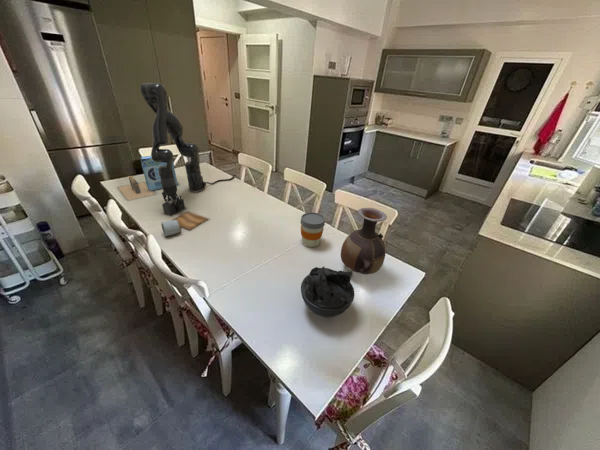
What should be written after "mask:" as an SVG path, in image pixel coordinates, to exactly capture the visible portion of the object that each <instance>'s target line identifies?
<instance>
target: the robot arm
mask: <svg viewBox="0 0 600 450" xmlns="http://www.w3.org/2000/svg"><path fill="white" fill-rule="evenodd" d="M139 91H140V94H141V96H142V98H143V100H144V101H145V103H146V104H147V105H148V106H149V108H151V110H152V111H153V112H154V113H155V117H154V119H153V121H152V125H151V135H152V146H151V152H150V156H151V158H152V159H153V161H154V162H166V163H167V165H164V166H160V167H159V174H160V178H161V184H162V188H161V189H162V192H161V196H162V198H163V201H164V203H165V202H168V201H170V200H172V202H173V203H174V204H175V207H176V211H180V207H179V205H182V201H181V199H182V196H181V195H178V194H177V192H178V185H176V181H175V178H174V174H173V169H172V163H174V154H173V151H172V150H171V149H170V148H169V149H168V148H162V149H161V148H160V147H161V146H164V145H165V146H166V145H168V143H169V139H168V138H169V137H168V134H169V136H170V137H171V140H172V141H173V142H174V144H175V146H176V148H177V150H178V152H179V154H180V155H181V156H182V157H185V158H190V160H187V161H186V162H185V163H184V168H185V173H186V178H187V183H188V187H189V188H188V189H189V192H192V193H199V192H202V191H203V190H204V189H205V187H207V184H208V185H214V184H216V183H219V182H223V181H224V182H225V181H231V180H233V179H234V177H237V175H236V174H233V175H232V177H231V178H225V179H223V178H222V179H217V180H215V181H214V182H210V181H204V178H203V175H202V172H201V167H200V166H201V165H200V163H201V162H200V151H199V146H198V145H197V144H196V143H194V142H186V141H185V140H184V138H183V134H184V127H183V125H182V123H181V121H180V119H179V118H178V116H177V115H176V114H174V113H173V112H172V111H170V110H169V109H168V91H167V89H166V86H165V85H164V84H163V83H160V82H143V83H141V84H140V86H139ZM174 200H176V201H174ZM176 202H177V204H176ZM179 202H180V203H179ZM180 212H181V211H180Z"/></svg>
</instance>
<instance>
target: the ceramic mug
mask: <svg viewBox="0 0 600 450" xmlns="http://www.w3.org/2000/svg"><path fill="white" fill-rule="evenodd" d="M160 224H161V229H162V233H163V235H164V237H169V236H172V235H173V236H174V235H176V234H179V233H181V232H182V227H181V226H180V223H179V221H178V220H173V219H171V220H166V221H161V223H160Z"/></svg>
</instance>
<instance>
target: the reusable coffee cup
mask: <svg viewBox="0 0 600 450" xmlns="http://www.w3.org/2000/svg"><path fill="white" fill-rule="evenodd" d="M325 225H326V219H325V216H324V215H322V214H321V213H318V212H312V211H311V212H310V211H309V212H305V213H303V214H302V215H301V218H300V235H301V241H302V244H303V245H304V246H306V247H309V248H314V247H318V245H319V244H320V241H321V238H322V236H323V233H324V227H325Z"/></svg>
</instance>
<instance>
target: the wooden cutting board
mask: <svg viewBox="0 0 600 450" xmlns="http://www.w3.org/2000/svg"><path fill="white" fill-rule="evenodd" d="M172 220H178V221H179V223H180V226H181V229H185V230H187V231H191V230H193V229H195V228H196V227H198V226H200V225H202V224H203V223H205V222H206V221H208V220H209V218H207V217H204V216H202V215H199V214H196V213H194V212H190V211H186V212H185V213H183V214H181V215H179V216H177V217H175V218H173V219H172Z"/></svg>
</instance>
